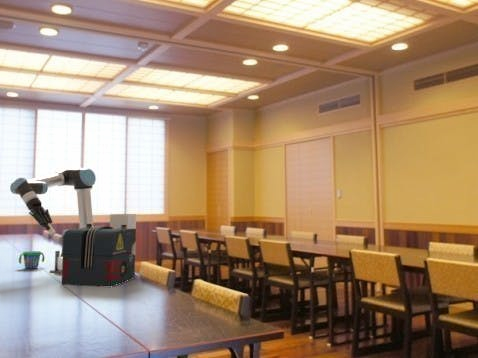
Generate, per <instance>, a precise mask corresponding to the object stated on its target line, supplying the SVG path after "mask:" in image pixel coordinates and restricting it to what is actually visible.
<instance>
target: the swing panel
mask: <svg viewBox="0 0 478 358" xmlns="http://www.w3.org/2000/svg"><path fill="white" fill-rule="evenodd" d="M62 263H63V257H58V267H57V269H59V270H62Z"/></svg>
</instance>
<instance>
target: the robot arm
mask: <svg viewBox="0 0 478 358" xmlns="http://www.w3.org/2000/svg"><path fill="white" fill-rule="evenodd" d="M96 180H97V178H96V174H95V172H94V171H93V170H92V169H90V168H87V167H80V168H79V167H78V168H77V167H75V168H74V167H73V168H67V169H63V170H60V171H56V172H54V173H53V174H49V175H45V176H44V175H43V176H41V177H36V178H32V179H31V178H30V179H27V178H25V177H18V178H16V179H15V180H14V181H12V183H11V184H10V186H9V188H10V193H11V194H14V195H19V197H20V198H21V199H22V201H23V203H24V204H25V206H26V208H27V209H28V211H29V212H28V215H30V216H31V217H32V218H33V219H35V221H36V222H37V223H38V224H39V226H40V227H41V226H42V228H45V230H46V231H47V232H48V233H49V235H50V237H51V236H52V237H53V236H54V235H55V234H56V232H57V231H56V230H55V229H54V227H53V225H52V223H53V220H52V217H51V215H50V212H49V209H47V208H46V209H45V208H44V207H43V206H42V201H41V200H40V198H39V196H38V195H45V194H47V192H48V189H49V188H53V187H56V186H57V187H63V186H69V187H70V186H71V187H73V189H74V190H75V191H76V195H77V196H76V197H77V207H78V208H77V209H78V219H79V220H78V221H79V222H78V223H79V227H78V228H86V227H87V226H86V225H87V224H92V227H95V226H94V221H93V220H94V219H93V207H92V195H91V194H92V193H91V190H92V189H93V186H94V185H95V183H96ZM67 230H68V229H64V230H63V231H62V236H61V254H60V257H63V238H64V234H65V232H66V231H67Z"/></svg>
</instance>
